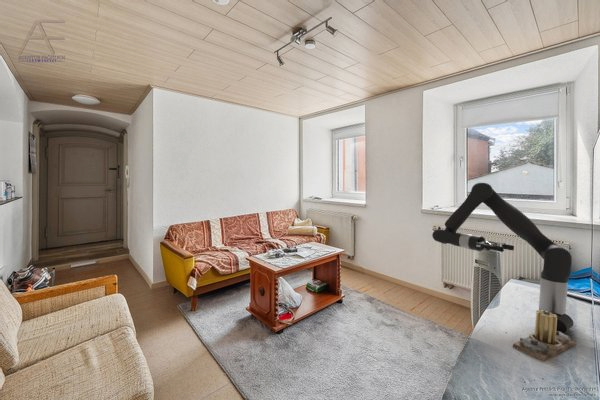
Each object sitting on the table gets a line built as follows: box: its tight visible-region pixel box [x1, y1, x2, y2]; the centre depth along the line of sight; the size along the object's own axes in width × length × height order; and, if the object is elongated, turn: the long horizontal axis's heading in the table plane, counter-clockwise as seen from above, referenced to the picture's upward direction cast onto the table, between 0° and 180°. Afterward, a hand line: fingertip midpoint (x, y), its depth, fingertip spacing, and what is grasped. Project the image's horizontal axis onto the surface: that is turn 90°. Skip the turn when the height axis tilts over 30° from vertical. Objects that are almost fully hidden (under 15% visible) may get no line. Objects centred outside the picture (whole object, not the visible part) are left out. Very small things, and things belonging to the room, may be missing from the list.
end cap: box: [551, 312, 574, 334], centre depth 111 cm, size 10×7×7 cm
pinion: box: [534, 309, 557, 345], centre depth 100 cm, size 6×6×12 cm
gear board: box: [512, 331, 577, 362], centre depth 100 cm, size 25×9×4 cm, turn 116°
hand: (508, 248), depth 120 cm, fingers open, 8 cm apart
